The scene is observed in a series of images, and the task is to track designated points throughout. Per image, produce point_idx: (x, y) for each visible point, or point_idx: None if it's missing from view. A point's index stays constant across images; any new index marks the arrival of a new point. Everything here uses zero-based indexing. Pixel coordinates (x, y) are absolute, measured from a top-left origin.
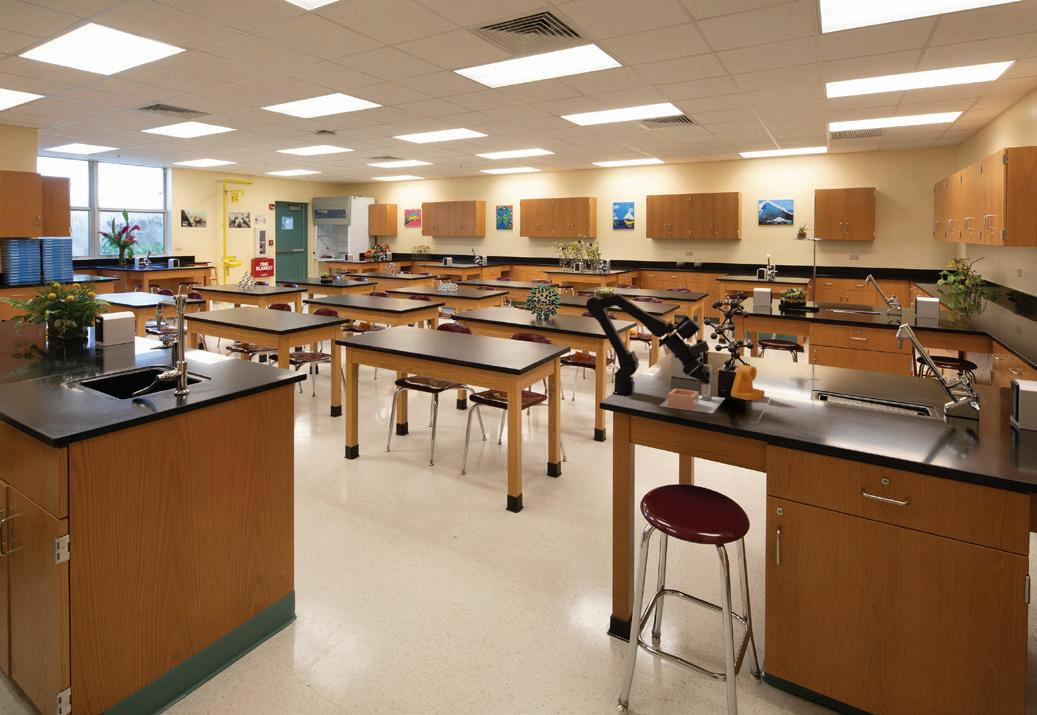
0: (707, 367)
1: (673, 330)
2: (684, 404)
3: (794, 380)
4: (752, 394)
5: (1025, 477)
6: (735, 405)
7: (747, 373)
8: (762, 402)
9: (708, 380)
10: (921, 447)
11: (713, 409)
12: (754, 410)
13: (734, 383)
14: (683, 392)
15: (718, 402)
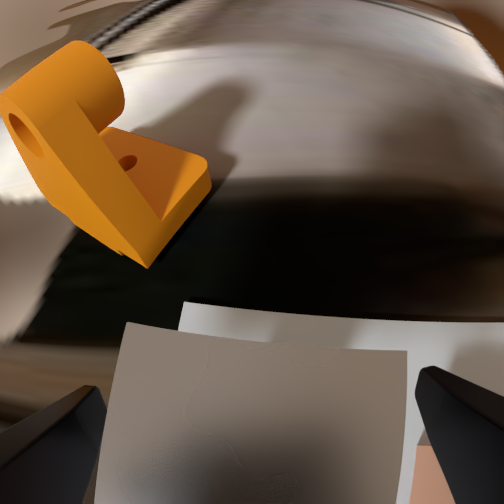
0: (393, 422)
1: None
2: None
3: None
4: (185, 152)
5: (437, 6)
6: (314, 241)
7: (111, 82)
8: (196, 146)
9: (447, 374)
10: (410, 16)
11: (483, 333)
12: (361, 167)
13: (105, 205)
14: None
15: (322, 333)
